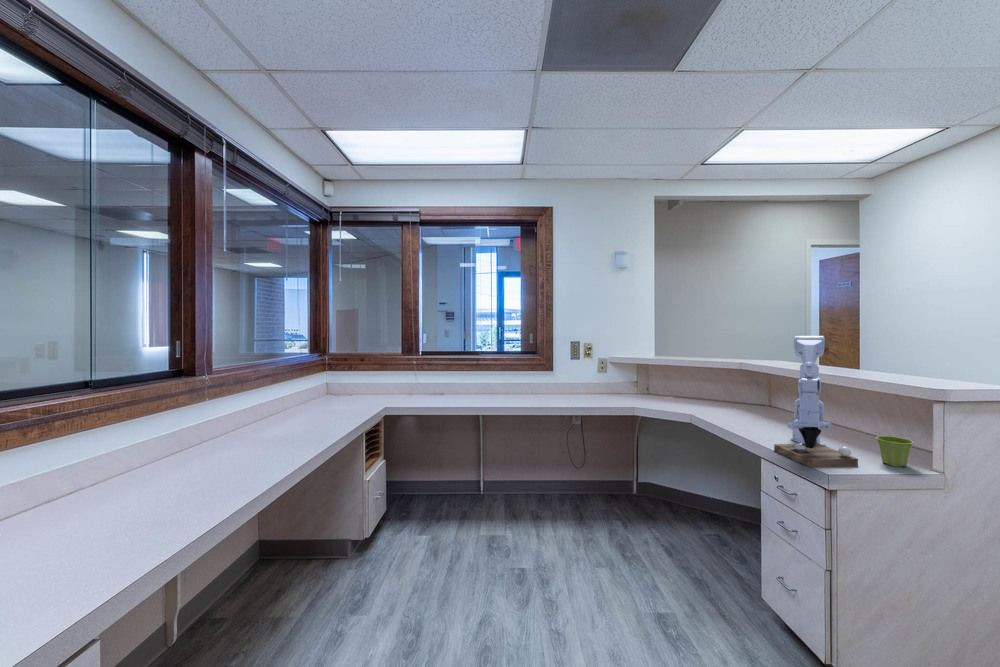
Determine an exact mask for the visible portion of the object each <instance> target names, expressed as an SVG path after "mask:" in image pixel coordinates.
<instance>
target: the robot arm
mask: <svg viewBox="0 0 1000 667" xmlns="http://www.w3.org/2000/svg"><path fill="white" fill-rule="evenodd" d="M793 338H794V339H793V349H794V354H795V356H797V357H800V359H801V360H802V363H801V364H800V366H799V379H798V381H797V383H798V384H797V385H798V386H797V390H798V395H799V396H798V397H799V398H797V399H796V400H795V401H794V405H793V406H794V407H793V408H794V410H793V414H794V415H793V416H794V417H793V418H794V419H795V420H793V421H791V422H787V428H788V429H790V430H792V432H791V433H792V434H791V435H792V437H790V438H789V439H790V440H791V441H794V442H795V443H797V444H798V443H805V445H806V447H808V448H813V447H814V444H815V441H816V440H817V443H819V444H821V445H824V446H827V445H826V443H824V442H821V433H822V430H821V429H824V428H825V429H826V428H827V429H832V423H831V422H829V421H825V405H824V402H823V401H821V400H820V395H821V392H822V390H821V389H822V386H821V385H822V383H821V379H820V372H819V371H820V368H819V366H818V364H817V363H816V362H817V359H818V358H820V357H823V356H824V354H825V346H826V344H825V342H826V341H825V340H826V338H825V336H824V335H795V336H794V337H793Z"/></svg>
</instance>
